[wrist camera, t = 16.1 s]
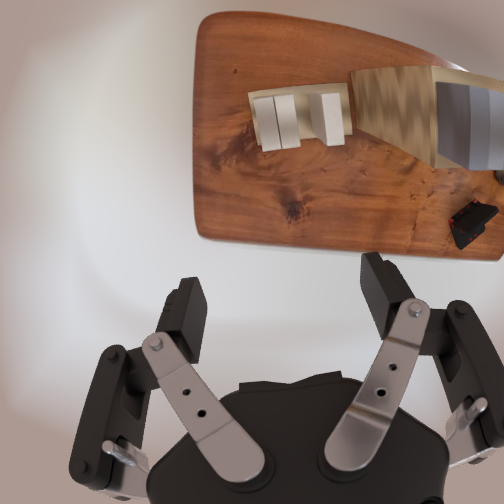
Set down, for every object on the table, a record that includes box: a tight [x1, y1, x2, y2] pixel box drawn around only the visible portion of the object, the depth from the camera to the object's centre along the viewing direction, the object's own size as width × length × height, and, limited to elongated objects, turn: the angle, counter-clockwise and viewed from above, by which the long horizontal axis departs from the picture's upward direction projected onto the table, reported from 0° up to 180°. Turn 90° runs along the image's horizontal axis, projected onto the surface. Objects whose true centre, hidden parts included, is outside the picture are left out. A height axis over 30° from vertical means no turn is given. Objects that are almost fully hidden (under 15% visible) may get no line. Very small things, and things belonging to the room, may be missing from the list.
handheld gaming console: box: [449, 199, 499, 250], centre depth 46 cm, size 9×12×10 cm
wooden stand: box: [350, 65, 504, 170], centre depth 27 cm, size 10×14×29 cm
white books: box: [248, 83, 353, 152], centre depth 37 cm, size 9×16×10 cm, turn 100°
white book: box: [307, 92, 345, 146], centre depth 37 cm, size 7×2×10 cm, turn 10°
